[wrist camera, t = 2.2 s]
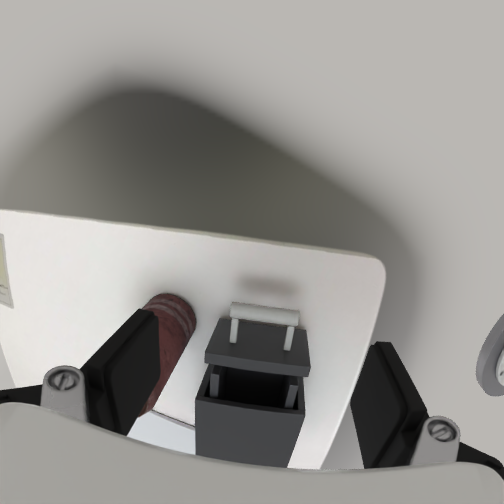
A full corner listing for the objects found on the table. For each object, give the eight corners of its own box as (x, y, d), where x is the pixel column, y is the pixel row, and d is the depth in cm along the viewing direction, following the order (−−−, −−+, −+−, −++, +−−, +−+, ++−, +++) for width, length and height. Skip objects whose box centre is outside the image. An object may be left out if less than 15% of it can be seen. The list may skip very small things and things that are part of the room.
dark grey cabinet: (212, 352, 34) (194, 399, 26) (302, 365, 33) (305, 415, 25) (209, 422, 37) (195, 467, 29) (283, 433, 36) (282, 479, 28)
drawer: (222, 282, 30) (206, 311, 24) (313, 295, 30) (320, 327, 23) (213, 396, 35) (202, 434, 28) (287, 406, 34) (287, 446, 27)
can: (145, 333, 34) (88, 407, 21) (148, 286, 32) (78, 351, 19) (193, 347, 34) (151, 433, 20) (200, 299, 32) (151, 378, 19)
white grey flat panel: (109, 390, 37) (105, 394, 36) (273, 450, 37) (272, 455, 36) (108, 478, 46) (106, 481, 45) (218, 518, 46) (217, 522, 45)
